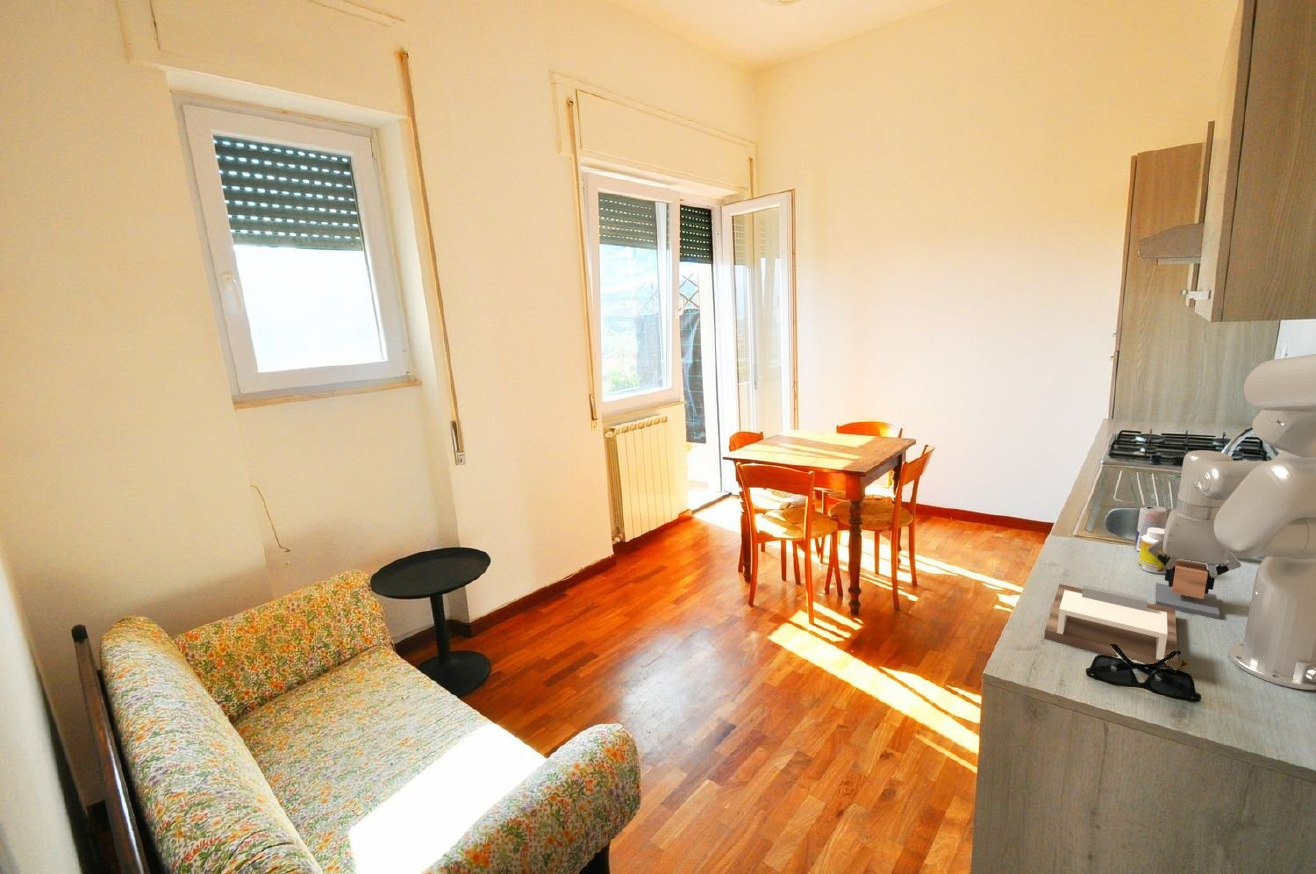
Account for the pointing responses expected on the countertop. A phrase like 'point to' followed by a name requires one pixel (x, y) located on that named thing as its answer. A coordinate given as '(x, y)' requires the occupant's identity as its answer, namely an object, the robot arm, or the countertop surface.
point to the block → (1190, 578)
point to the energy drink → (1149, 521)
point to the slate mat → (1187, 602)
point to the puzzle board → (1110, 634)
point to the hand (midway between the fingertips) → (1187, 587)
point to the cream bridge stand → (1115, 613)
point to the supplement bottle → (1148, 559)
